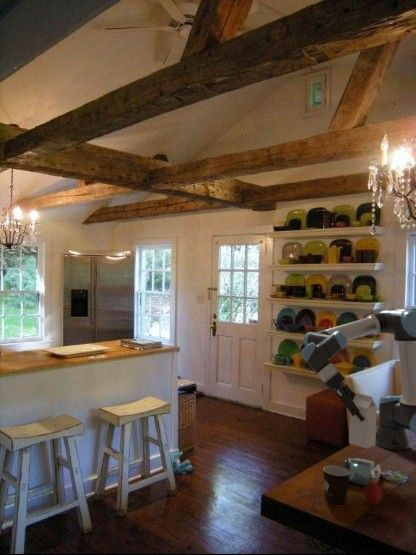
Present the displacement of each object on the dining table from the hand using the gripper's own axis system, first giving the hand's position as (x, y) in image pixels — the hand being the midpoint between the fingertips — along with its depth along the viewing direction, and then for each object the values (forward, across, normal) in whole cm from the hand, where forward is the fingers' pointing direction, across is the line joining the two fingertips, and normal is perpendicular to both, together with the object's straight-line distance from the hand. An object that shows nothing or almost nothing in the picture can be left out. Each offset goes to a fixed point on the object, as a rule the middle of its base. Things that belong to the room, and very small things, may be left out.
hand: (371, 424), depth 169 cm
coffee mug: (+9, +28, -20) cm, 35 cm away
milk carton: (+4, 0, -8) cm, 9 cm away
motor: (+12, +4, -16) cm, 20 cm away
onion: (+17, +24, -11) cm, 32 cm away
